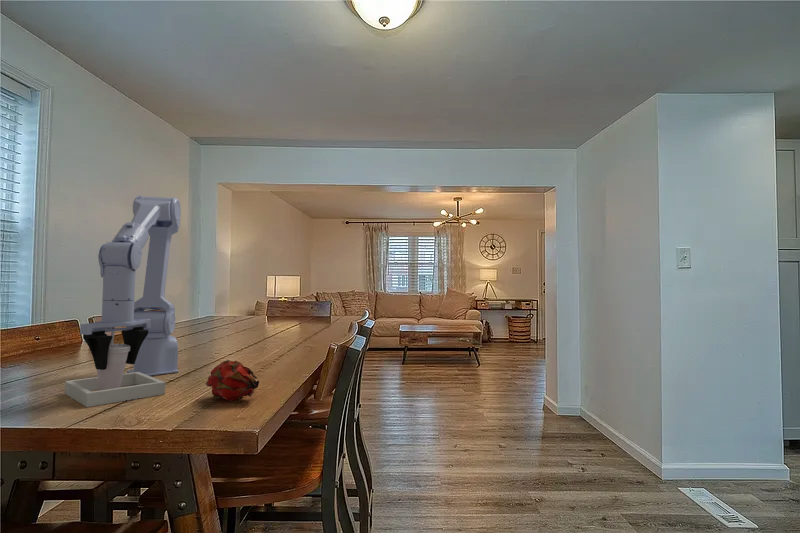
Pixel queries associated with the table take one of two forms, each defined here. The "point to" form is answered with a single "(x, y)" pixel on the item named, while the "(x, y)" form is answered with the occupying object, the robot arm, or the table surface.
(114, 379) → the smoothie
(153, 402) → the table surface
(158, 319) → the robot arm
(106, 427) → the table surface
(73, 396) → the white shallow square frame
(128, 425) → the table surface
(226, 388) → the dragon fruit
